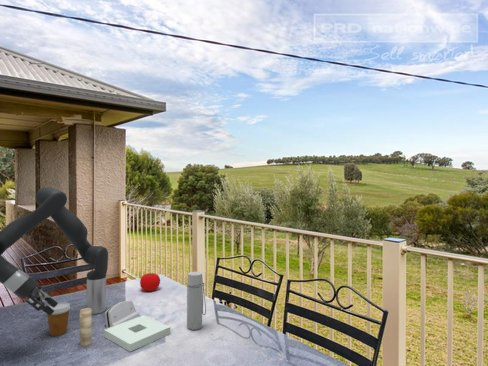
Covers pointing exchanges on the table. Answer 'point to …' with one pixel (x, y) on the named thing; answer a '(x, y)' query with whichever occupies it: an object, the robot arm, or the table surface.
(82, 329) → the birch pin
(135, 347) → the collar block
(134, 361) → the table surface
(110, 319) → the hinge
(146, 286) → the tomato
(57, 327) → the disposable coffee cup
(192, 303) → the water bottle
